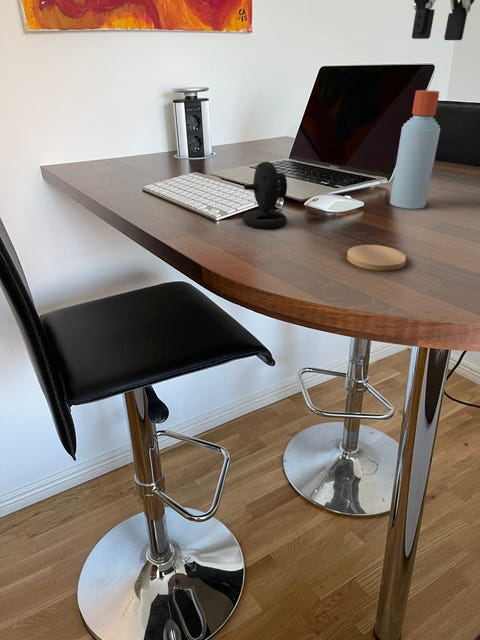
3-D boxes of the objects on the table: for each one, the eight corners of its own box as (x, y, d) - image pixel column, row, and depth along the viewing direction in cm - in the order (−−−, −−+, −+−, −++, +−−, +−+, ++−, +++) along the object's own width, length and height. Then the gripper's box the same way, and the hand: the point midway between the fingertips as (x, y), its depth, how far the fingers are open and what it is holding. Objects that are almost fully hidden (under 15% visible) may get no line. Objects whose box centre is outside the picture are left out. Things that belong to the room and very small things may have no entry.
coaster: (373, 246, 75) (374, 241, 75) (417, 263, 69) (418, 257, 69) (335, 256, 71) (335, 251, 71) (378, 275, 65) (378, 269, 65)
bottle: (404, 198, 101) (423, 92, 91) (432, 205, 96) (455, 95, 87) (382, 202, 97) (399, 93, 88) (410, 210, 93) (431, 96, 83)
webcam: (293, 228, 82) (298, 165, 77) (250, 231, 80) (252, 167, 75) (277, 214, 89) (280, 156, 84) (236, 217, 87) (237, 158, 82)
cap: (421, 112, 91) (425, 90, 89) (439, 115, 88) (444, 91, 87) (407, 113, 89) (411, 90, 88) (425, 116, 86) (430, 92, 85)
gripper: (472, -81, 82) (449, 41, 90) (403, -99, 73) (384, 38, 82) (516, -90, 77) (487, 40, 85) (447, -110, 68) (422, 37, 76)
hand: (437, 38), depth 83 cm, fingers open, 8 cm apart
